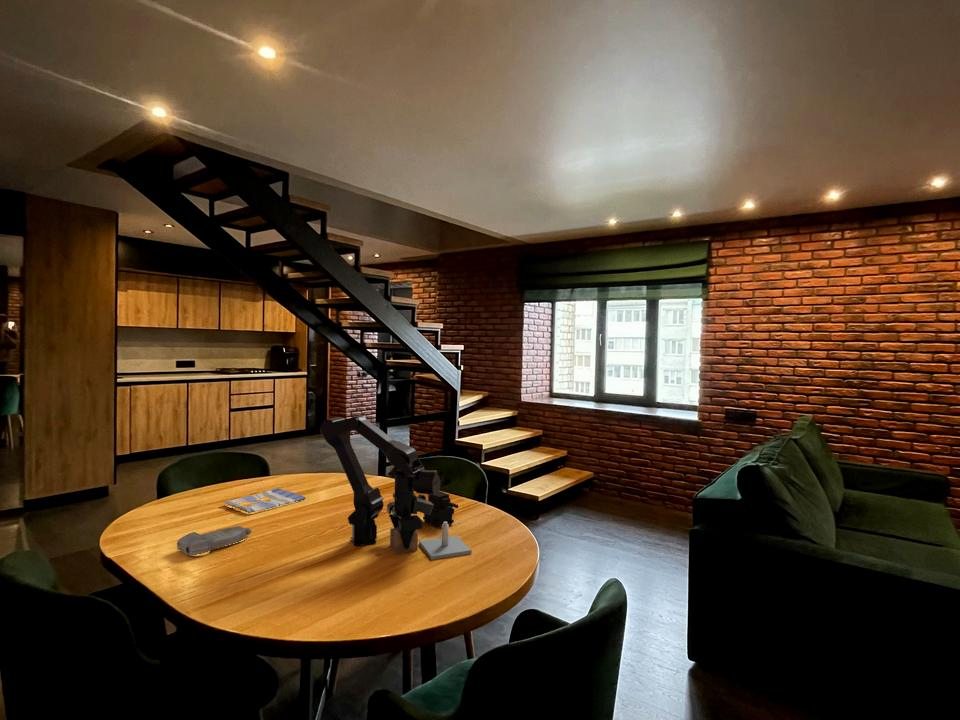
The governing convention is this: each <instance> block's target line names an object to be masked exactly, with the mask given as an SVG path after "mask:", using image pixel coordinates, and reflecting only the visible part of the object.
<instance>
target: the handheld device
mask: <svg viewBox="0 0 960 720" xmlns="http://www.w3.org/2000/svg"><path fill="white" fill-rule="evenodd" d="M251 533H252V529H251V528H248V527H247V528H245V527H243V526H240V525H236V526H231V527H225V528H221V529H217V530H213V531H209V532H206V533H203V534H200V533H198V532H195V531H194V532H190V533H187V534H185V535H183V536H182V537H180V538H179V539H178V540H177V542H176V548H177V551H179V550H180V552H181V553H182V554H183V553H184V554H185V555H187V556H189V557H192V556H191V555H197V554H202V553H205V552H208V551H210V550H211V551H212V550H216V549H219V548H218V547H221V548H223V547H222V546H225V545H229V544H233V543H236V542H239V541H241V540H243V539H245V538H246V539H247V536H248V535H250V534H251ZM233 545H234V544H233ZM229 546H230V545H229ZM225 547H226V546H225ZM215 548H216V549H215ZM211 551H210V552H211Z"/></svg>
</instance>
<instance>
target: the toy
mask: <svg viewBox="0 0 960 720" xmlns="http://www.w3.org/2000/svg"><path fill="white" fill-rule="evenodd" d="M427 500H428V501H430V502H431V503H432V504H433V505H434V506H433V509H432V511H431V514H430V515H427V514H425V513H423V516H422V520H423V523H425V524H428V525H431V526H432V527H435V528H437V529H440V528H441V527H442V524H443V522H447V524H448V525H449V526H450V525H451V526H452V525H453V524H454V523H455V519H453V515H455V509H459V504H457V503H453V502H452V501H451V498H450V494H449V493H447V492H443V491H441V490H439V492H438V494H437V495H429V494H427Z"/></svg>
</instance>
